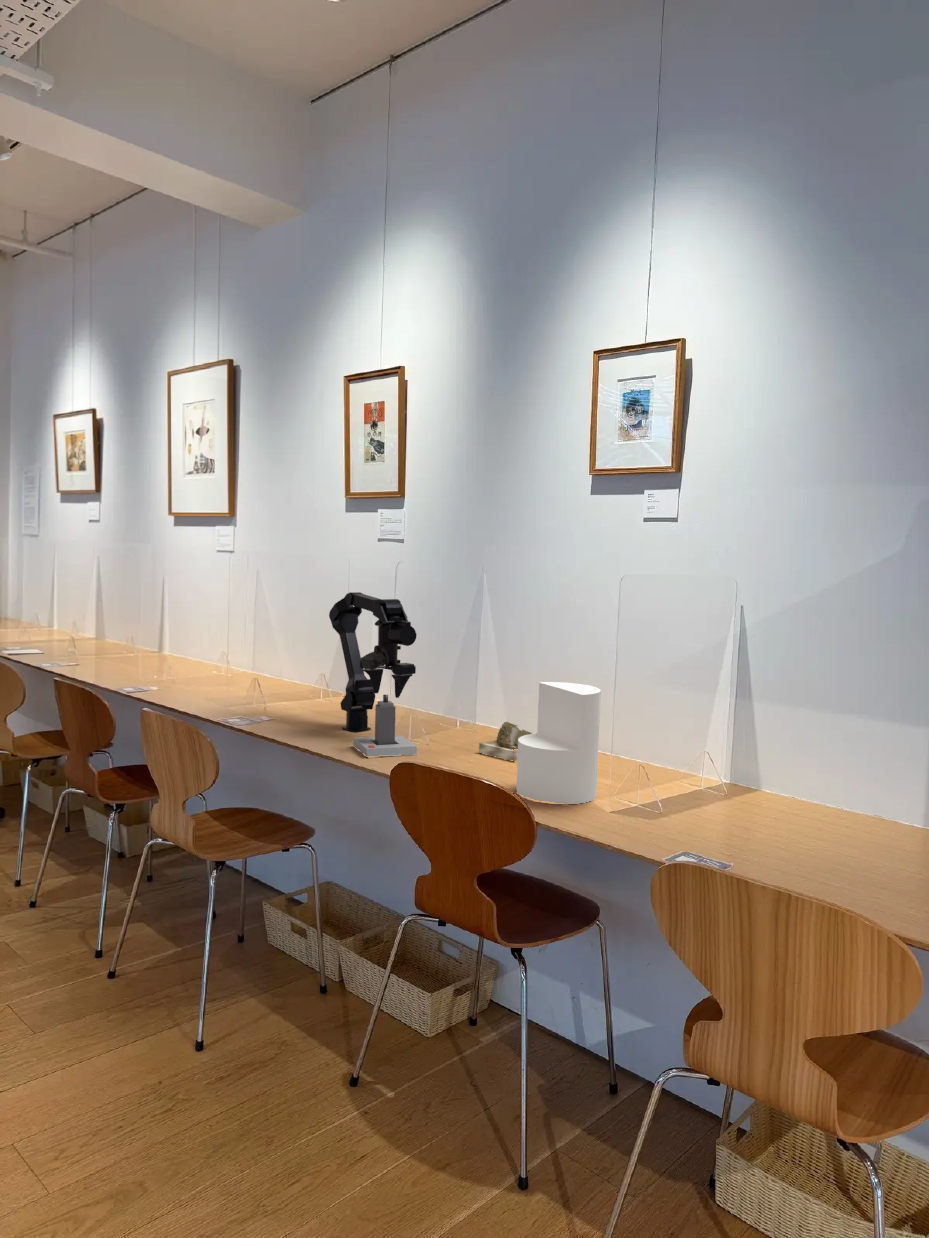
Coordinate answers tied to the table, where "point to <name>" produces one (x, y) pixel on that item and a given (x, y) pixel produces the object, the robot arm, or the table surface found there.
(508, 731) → the toy
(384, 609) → the robot arm
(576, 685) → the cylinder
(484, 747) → the tray
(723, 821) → the table surface
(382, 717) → the plug
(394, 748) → the socket
